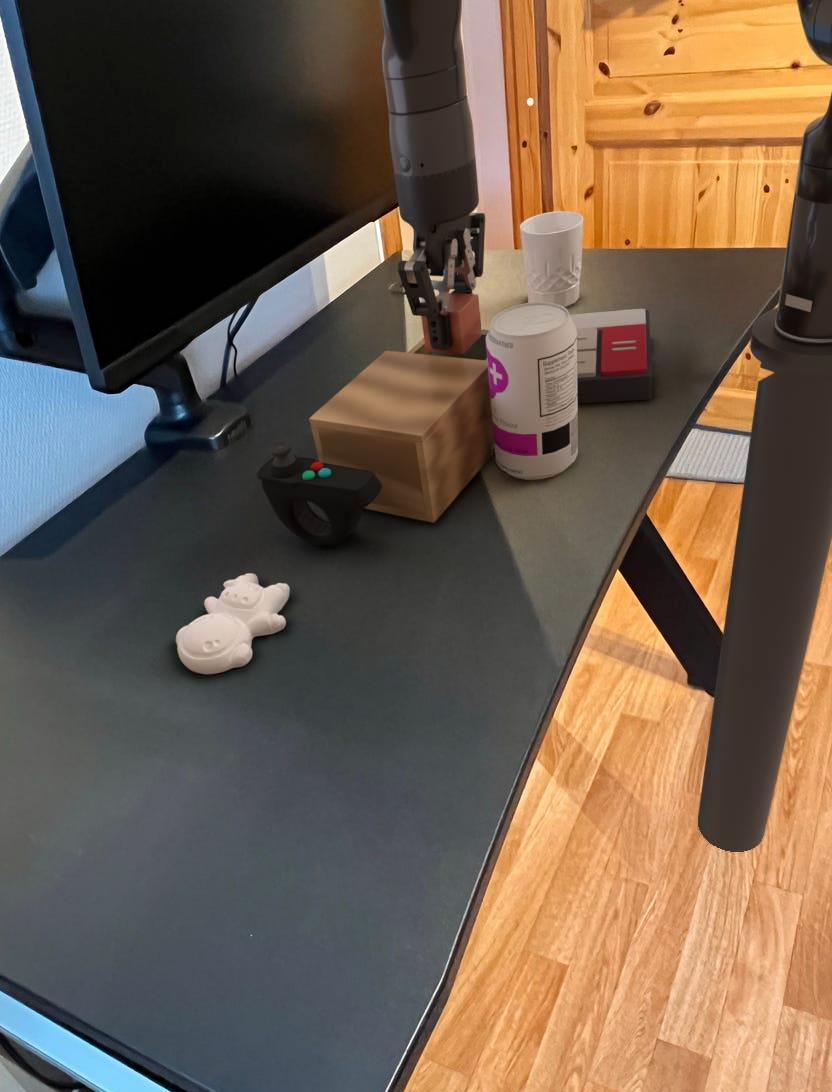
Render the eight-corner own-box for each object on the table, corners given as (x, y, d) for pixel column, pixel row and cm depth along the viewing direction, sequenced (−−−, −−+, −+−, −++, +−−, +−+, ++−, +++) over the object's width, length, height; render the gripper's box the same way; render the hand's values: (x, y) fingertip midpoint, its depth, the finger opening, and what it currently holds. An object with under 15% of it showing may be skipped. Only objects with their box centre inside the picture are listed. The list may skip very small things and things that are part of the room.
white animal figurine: (314, 602, 79) (306, 576, 77) (223, 687, 73) (213, 661, 71) (245, 576, 83) (237, 551, 81) (155, 654, 77) (143, 629, 75)
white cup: (556, 283, 121) (554, 207, 114) (596, 296, 115) (596, 217, 109) (511, 303, 119) (507, 227, 112) (550, 317, 113) (548, 238, 107)
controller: (292, 517, 90) (269, 431, 83) (397, 538, 84) (381, 447, 77) (269, 542, 87) (243, 455, 80) (375, 565, 81) (356, 473, 75)
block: (482, 335, 91) (478, 294, 89) (462, 354, 89) (458, 312, 86) (445, 332, 94) (440, 292, 91) (425, 351, 91) (420, 310, 88)
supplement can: (499, 488, 87) (487, 344, 77) (493, 445, 93) (481, 307, 83) (583, 477, 85) (582, 330, 75) (571, 434, 91) (569, 293, 82)
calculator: (545, 376, 94) (552, 310, 104) (546, 411, 97) (553, 344, 107) (652, 368, 91) (649, 302, 101) (650, 405, 94) (647, 336, 104)
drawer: (453, 372, 105) (446, 309, 100) (542, 382, 99) (539, 315, 94) (377, 448, 95) (365, 382, 90) (471, 463, 89) (464, 394, 84)
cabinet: (398, 430, 99) (385, 350, 92) (500, 445, 92) (493, 361, 86) (328, 500, 91) (308, 418, 84) (434, 523, 84) (421, 435, 78)
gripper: (431, 185, 74) (453, 372, 85) (505, 132, 82) (516, 310, 93) (358, 186, 78) (388, 366, 89) (435, 135, 86) (453, 306, 97)
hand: (453, 336), depth 91 cm, fingers closed on block, 4 cm apart
